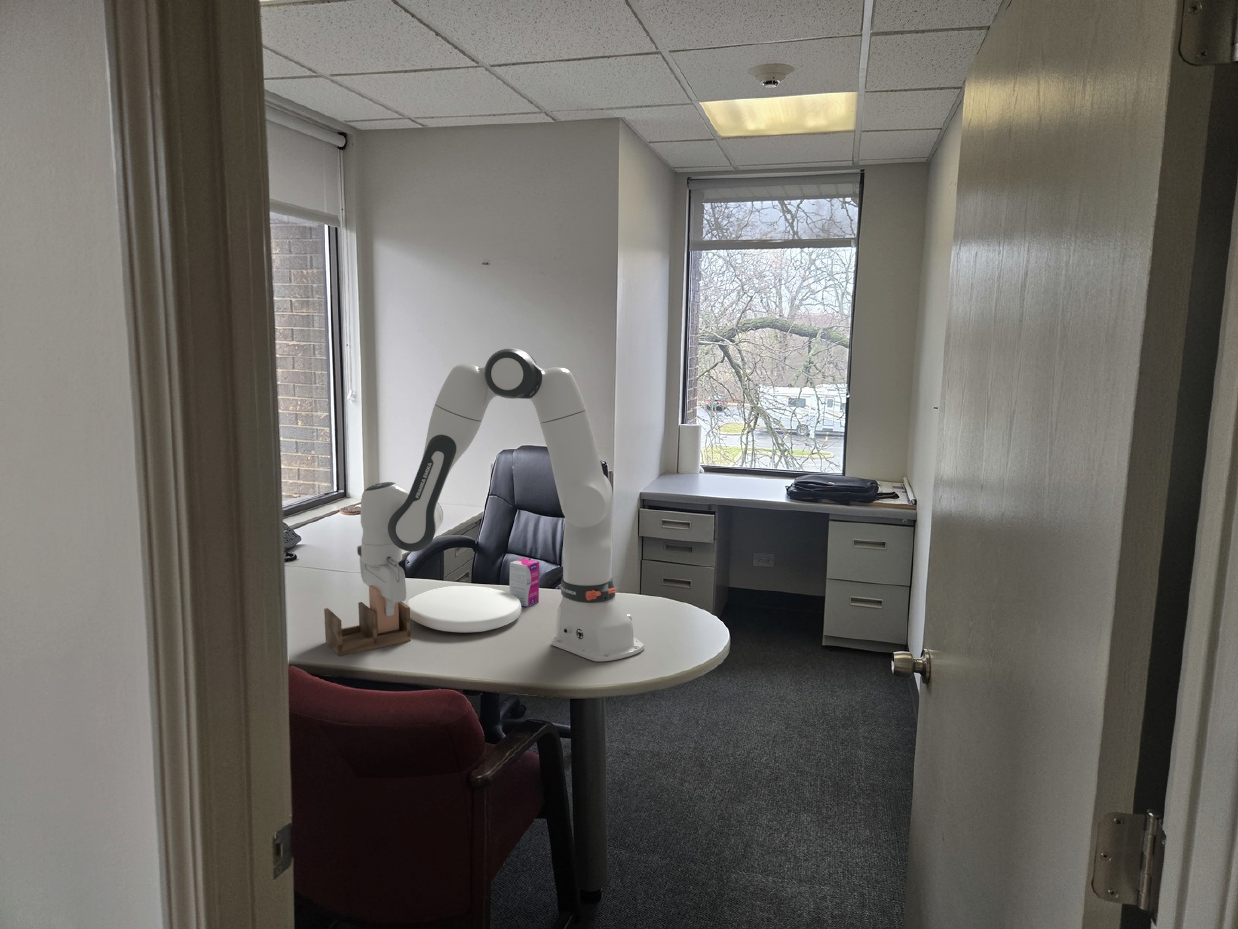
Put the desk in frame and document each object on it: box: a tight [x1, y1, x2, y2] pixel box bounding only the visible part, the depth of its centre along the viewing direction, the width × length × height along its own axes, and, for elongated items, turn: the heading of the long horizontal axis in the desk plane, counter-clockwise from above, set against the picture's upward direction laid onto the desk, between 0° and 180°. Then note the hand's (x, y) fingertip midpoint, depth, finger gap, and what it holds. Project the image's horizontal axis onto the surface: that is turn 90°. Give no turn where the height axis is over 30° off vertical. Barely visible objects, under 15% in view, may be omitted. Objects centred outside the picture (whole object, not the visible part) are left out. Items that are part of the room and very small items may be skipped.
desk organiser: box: [323, 601, 412, 657], centre depth 187 cm, size 10×16×8 cm, turn 126°
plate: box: [406, 585, 522, 633], centre depth 204 cm, size 28×6×27 cm
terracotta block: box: [368, 585, 399, 633], centre depth 189 cm, size 5×5×10 cm
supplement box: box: [508, 557, 540, 609], centre depth 215 cm, size 6×6×12 cm
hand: (384, 611), depth 189 cm, fingers closed on terracotta block, 5 cm apart
